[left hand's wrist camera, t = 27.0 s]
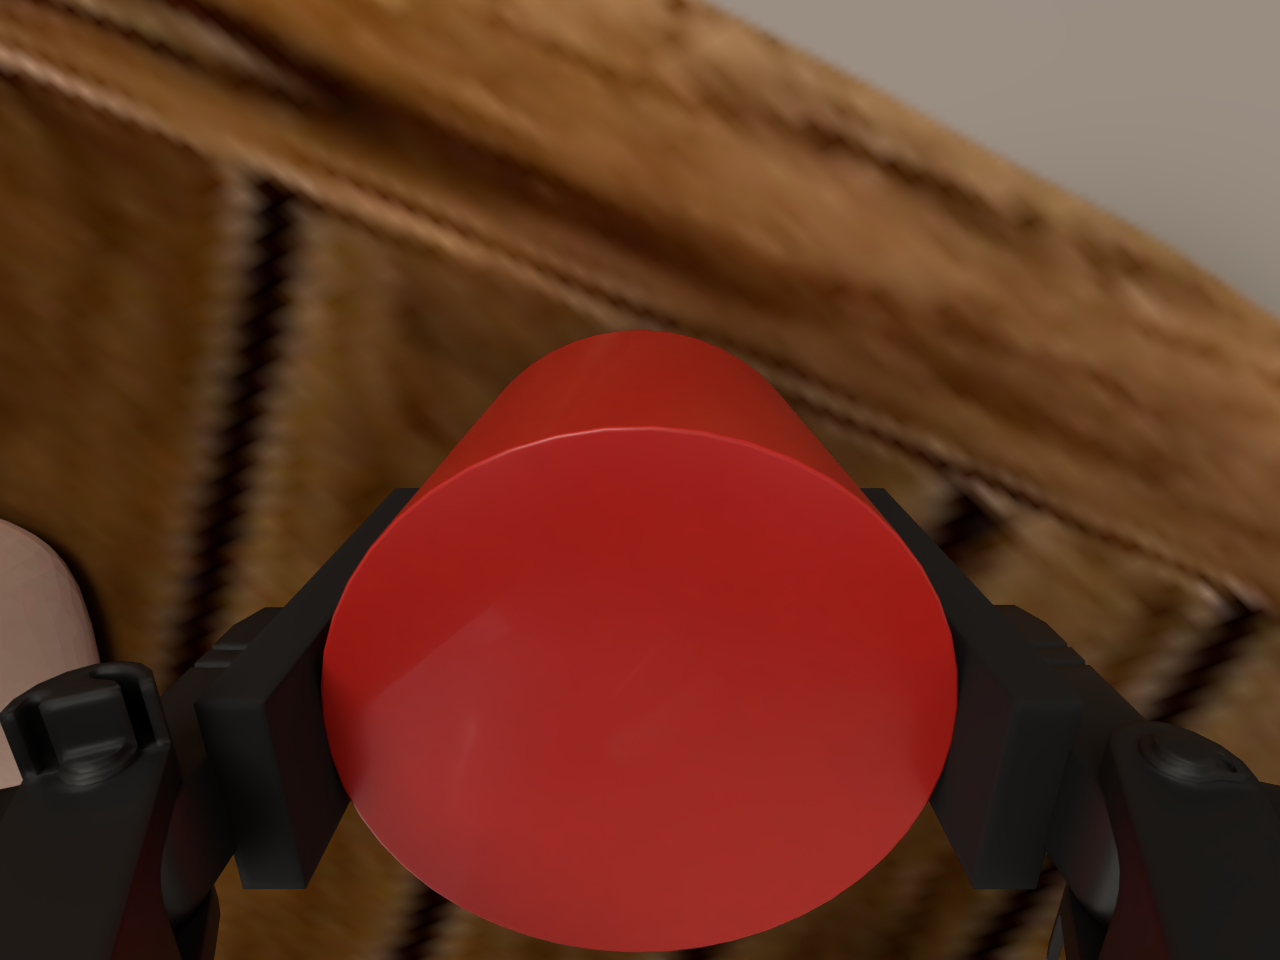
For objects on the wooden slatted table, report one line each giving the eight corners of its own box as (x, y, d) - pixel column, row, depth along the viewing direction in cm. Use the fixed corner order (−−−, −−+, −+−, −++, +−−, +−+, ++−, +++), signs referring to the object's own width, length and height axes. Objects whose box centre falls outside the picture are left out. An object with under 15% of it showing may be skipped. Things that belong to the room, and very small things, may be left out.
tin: (885, 515, 16) (1083, 744, 9) (631, 710, 18) (626, 1028, 11) (649, 246, 14) (660, 263, 7) (391, 498, 16) (188, 719, 9)
